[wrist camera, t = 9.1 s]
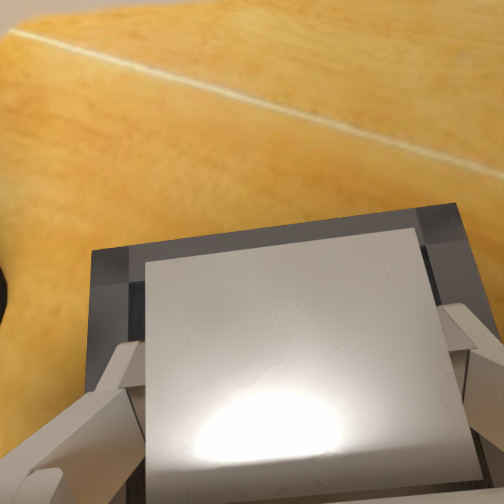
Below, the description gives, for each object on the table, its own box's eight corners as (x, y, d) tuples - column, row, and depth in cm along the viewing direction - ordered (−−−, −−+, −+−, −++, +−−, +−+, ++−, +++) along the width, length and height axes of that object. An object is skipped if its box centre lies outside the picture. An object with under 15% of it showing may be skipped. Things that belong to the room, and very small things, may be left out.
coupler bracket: (526, 619, 13) (622, 712, 9) (128, 649, 14) (66, 746, 10) (421, 242, 18) (455, 202, 14) (131, 278, 19) (91, 250, 15)
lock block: (367, 425, 14) (483, 479, 5) (232, 439, 14) (145, 510, 6) (345, 313, 15) (412, 219, 7) (223, 328, 16) (145, 255, 7)
